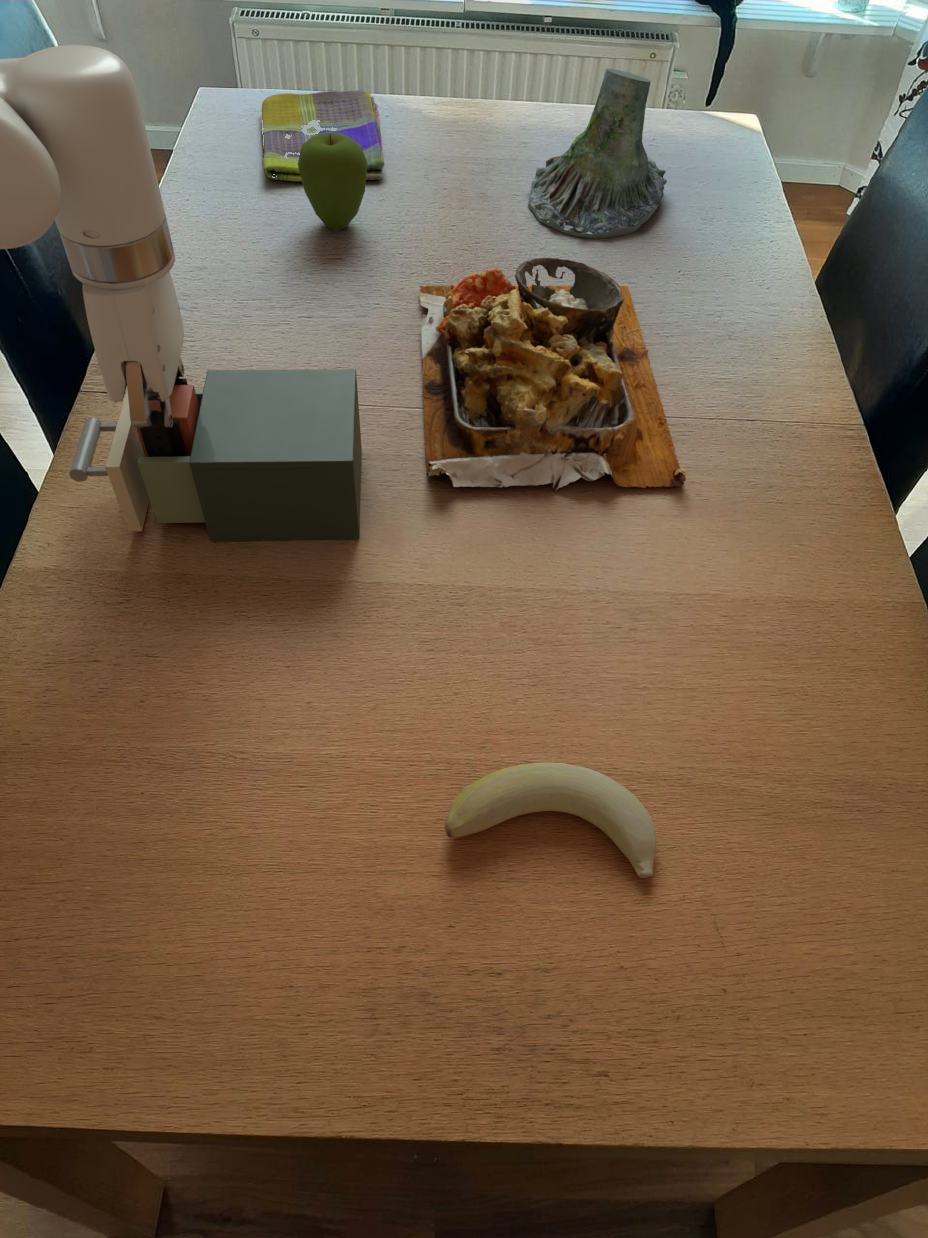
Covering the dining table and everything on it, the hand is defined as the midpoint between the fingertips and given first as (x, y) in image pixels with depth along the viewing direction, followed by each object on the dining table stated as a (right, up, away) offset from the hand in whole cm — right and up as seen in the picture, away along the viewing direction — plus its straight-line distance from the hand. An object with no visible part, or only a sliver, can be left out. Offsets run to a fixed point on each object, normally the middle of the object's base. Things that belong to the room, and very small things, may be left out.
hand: (172, 434), depth 81 cm
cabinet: (+9, -4, +6) cm, 12 cm away
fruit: (+32, -32, -14) cm, 48 cm away
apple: (+9, +35, +37) cm, 52 cm away
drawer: (-1, -4, +5) cm, 6 cm away
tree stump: (+44, +41, +44) cm, 75 cm away
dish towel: (+5, +53, +51) cm, 74 cm away
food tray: (+34, +10, +19) cm, 40 cm away
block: (0, 0, +1) cm, 1 cm away
